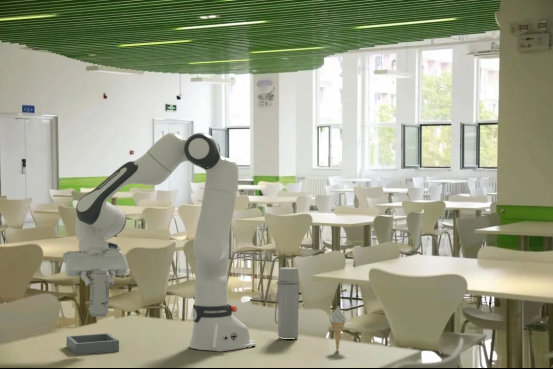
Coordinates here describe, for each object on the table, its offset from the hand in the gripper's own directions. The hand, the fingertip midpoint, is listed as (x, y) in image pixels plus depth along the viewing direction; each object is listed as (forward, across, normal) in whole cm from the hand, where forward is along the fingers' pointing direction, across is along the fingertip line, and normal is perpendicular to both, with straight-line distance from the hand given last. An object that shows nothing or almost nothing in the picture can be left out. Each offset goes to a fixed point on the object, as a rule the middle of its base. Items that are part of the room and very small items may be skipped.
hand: (100, 284), depth 258 cm
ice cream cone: (+36, +72, -7) cm, 81 cm away
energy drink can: (+7, 0, +8) cm, 10 cm away
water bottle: (+18, +66, +12) cm, 70 cm away
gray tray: (+12, 0, +20) cm, 23 cm away
